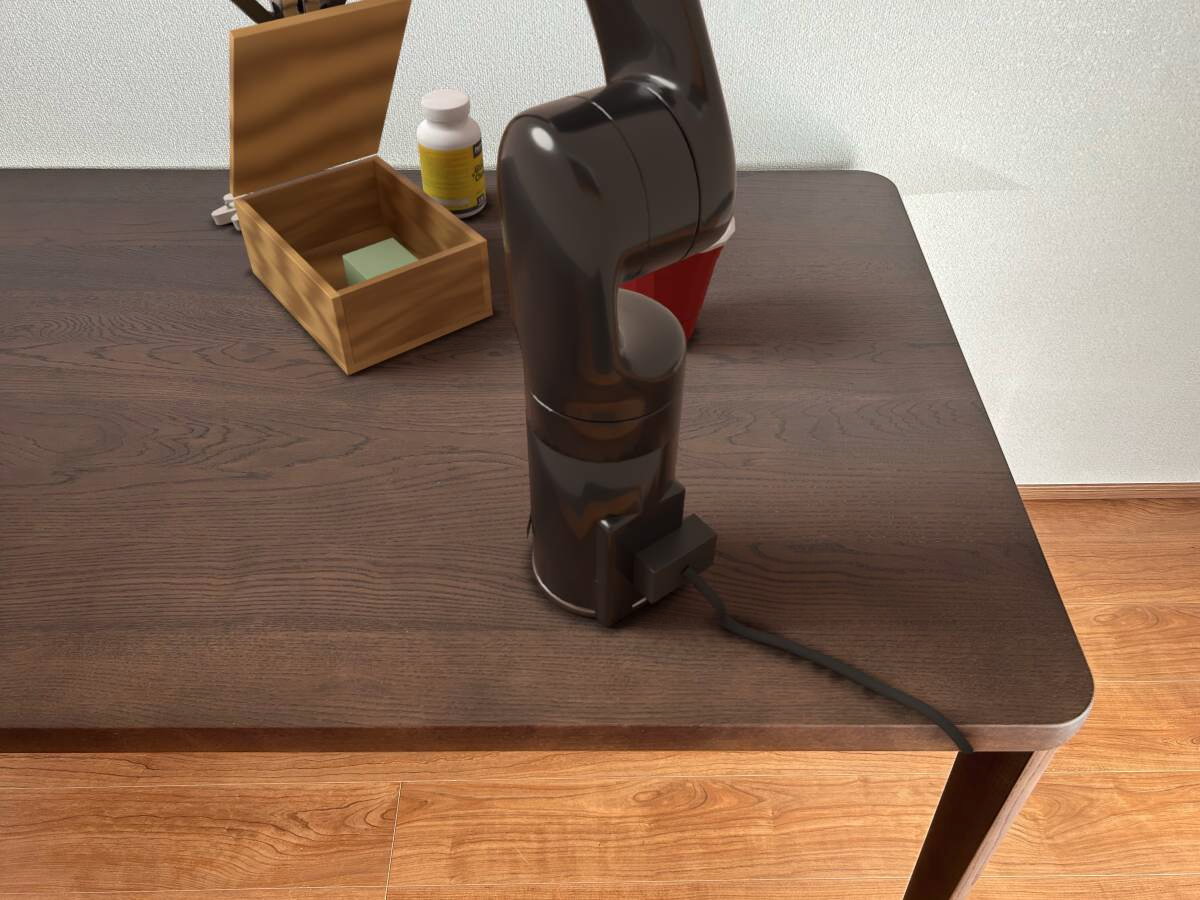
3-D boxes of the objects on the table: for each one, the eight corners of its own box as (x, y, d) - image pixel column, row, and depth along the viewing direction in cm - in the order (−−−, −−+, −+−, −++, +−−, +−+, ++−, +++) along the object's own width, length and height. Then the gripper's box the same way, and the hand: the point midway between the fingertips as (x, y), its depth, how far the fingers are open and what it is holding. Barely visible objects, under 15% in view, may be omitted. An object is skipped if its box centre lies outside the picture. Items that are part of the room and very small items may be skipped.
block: (427, 308, 88) (420, 261, 84) (377, 328, 85) (369, 280, 82) (399, 284, 90) (392, 237, 87) (351, 302, 88) (341, 255, 85)
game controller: (205, 217, 100) (198, 194, 98) (302, 181, 106) (297, 159, 104) (232, 238, 97) (225, 215, 96) (331, 200, 103) (326, 177, 101)
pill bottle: (476, 224, 100) (467, 116, 92) (416, 217, 101) (402, 109, 93) (494, 194, 104) (486, 88, 96) (436, 187, 105) (424, 82, 97)
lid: (413, -3, 76) (408, -11, 76) (233, 39, 69) (228, 30, 69) (378, 153, 94) (374, 146, 94) (233, 198, 87) (229, 191, 87)
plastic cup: (746, 346, 86) (764, 226, 77) (641, 383, 82) (648, 261, 73) (679, 285, 92) (689, 168, 84) (579, 317, 88) (579, 198, 80)
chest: (493, 314, 88) (487, 240, 83) (348, 375, 82) (331, 298, 76) (387, 225, 100) (376, 154, 94) (252, 272, 93) (232, 199, 88)
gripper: (189, -144, 63) (251, 113, 75) (371, -169, 69) (402, 72, 81) (149, -165, 67) (214, 81, 79) (323, -188, 73) (359, 44, 85)
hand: (309, 76), depth 80 cm, fingers closed
